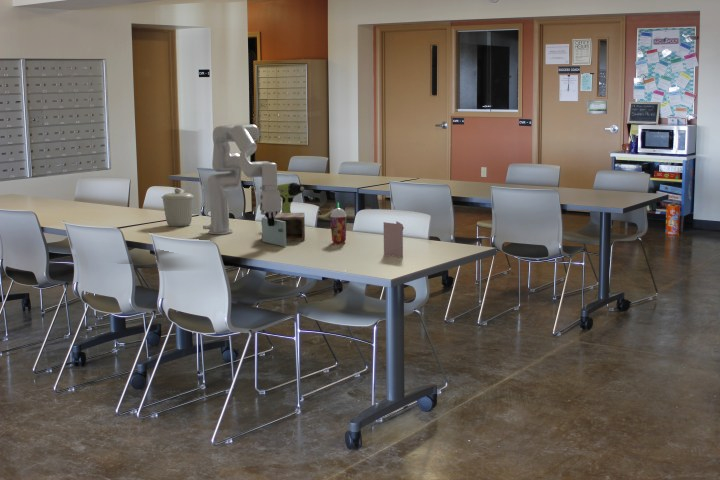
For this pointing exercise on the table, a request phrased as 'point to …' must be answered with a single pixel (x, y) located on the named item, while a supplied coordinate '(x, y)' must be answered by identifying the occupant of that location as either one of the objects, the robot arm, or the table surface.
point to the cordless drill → (289, 194)
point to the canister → (178, 208)
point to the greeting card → (393, 239)
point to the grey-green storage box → (274, 232)
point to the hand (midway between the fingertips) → (271, 225)
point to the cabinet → (293, 225)
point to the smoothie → (338, 225)
